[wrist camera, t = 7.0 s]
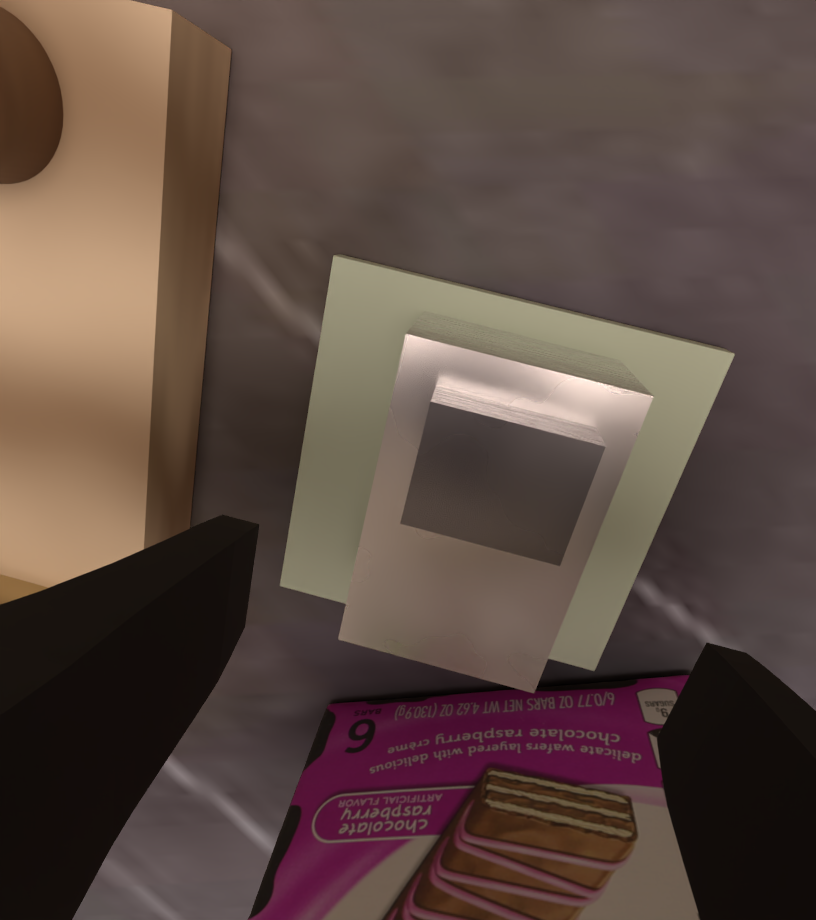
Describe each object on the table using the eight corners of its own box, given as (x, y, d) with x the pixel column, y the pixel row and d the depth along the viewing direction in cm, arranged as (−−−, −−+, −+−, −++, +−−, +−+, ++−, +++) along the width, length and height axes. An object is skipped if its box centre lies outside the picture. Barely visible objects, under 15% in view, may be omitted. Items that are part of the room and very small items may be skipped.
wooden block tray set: (175, 688, 20) (80, 828, 15) (-25, 632, 20) (-178, 753, 15) (231, 49, 13) (82, -50, 8) (-79, -23, 13) (-390, -157, 8)
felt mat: (591, 656, 17) (594, 671, 16) (286, 574, 17) (279, 585, 17) (724, 348, 13) (734, 354, 13) (340, 254, 14) (333, 255, 13)
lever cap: (527, 611, 16) (536, 729, 12) (364, 567, 16) (326, 670, 12) (620, 360, 13) (669, 413, 10) (423, 311, 13) (397, 344, 10)
